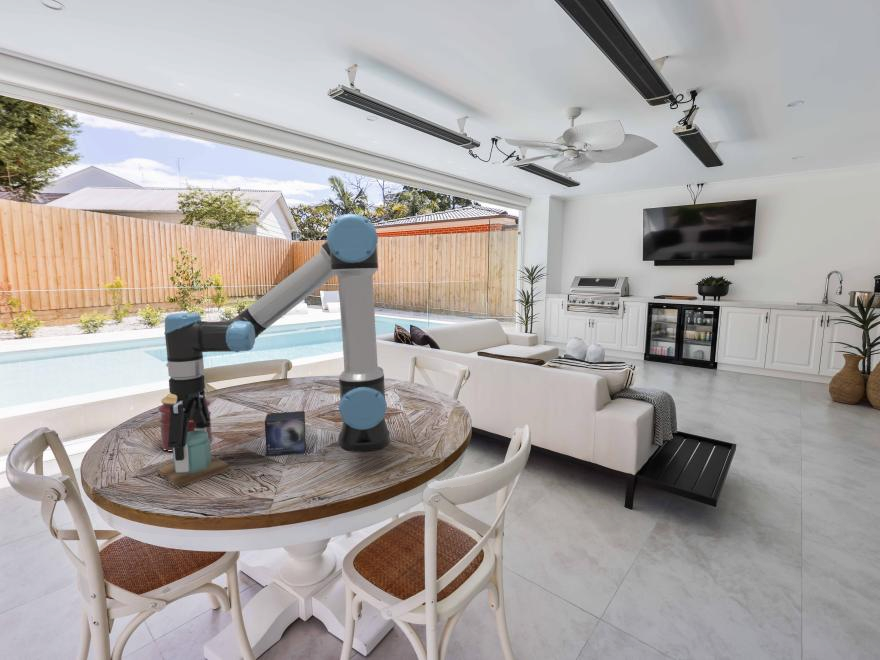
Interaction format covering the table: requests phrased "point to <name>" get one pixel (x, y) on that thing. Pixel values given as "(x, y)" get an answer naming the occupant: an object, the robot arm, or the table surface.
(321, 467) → the table surface
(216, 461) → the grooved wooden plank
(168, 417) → the canister
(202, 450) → the lidded container
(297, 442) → the small box
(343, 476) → the table surface
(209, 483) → the table surface
